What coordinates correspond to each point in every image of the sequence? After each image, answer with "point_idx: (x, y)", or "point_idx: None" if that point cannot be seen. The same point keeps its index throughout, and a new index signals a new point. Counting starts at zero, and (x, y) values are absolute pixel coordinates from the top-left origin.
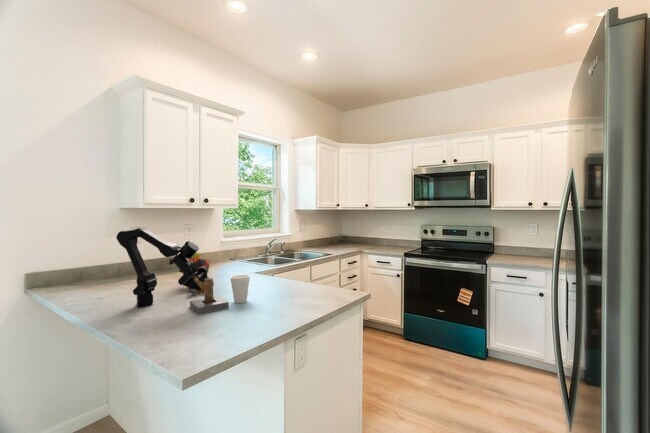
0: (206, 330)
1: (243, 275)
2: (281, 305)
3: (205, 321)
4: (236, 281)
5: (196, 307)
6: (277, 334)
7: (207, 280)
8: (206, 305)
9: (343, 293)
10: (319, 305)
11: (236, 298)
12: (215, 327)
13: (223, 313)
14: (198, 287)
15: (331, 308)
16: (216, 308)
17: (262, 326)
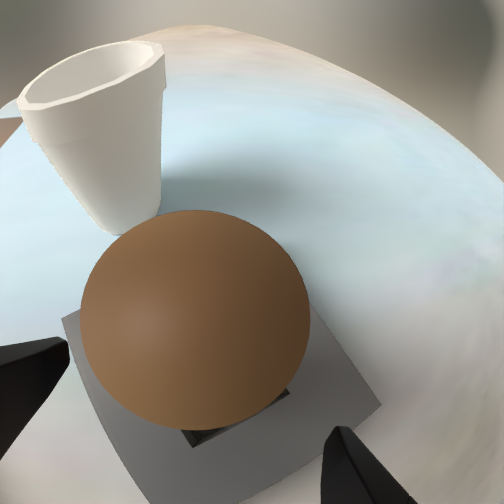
0: (496, 288)
1: (48, 76)
2: (245, 91)
3: (446, 323)
4: (155, 89)
5: None
6: (451, 138)
7: (305, 316)
8: (330, 366)
9: (176, 32)
10: (261, 52)
11: (150, 200)
12: (477, 265)
13: (344, 264)
14: (371, 460)
15: (286, 48)
16: None
17: (430, 150)
